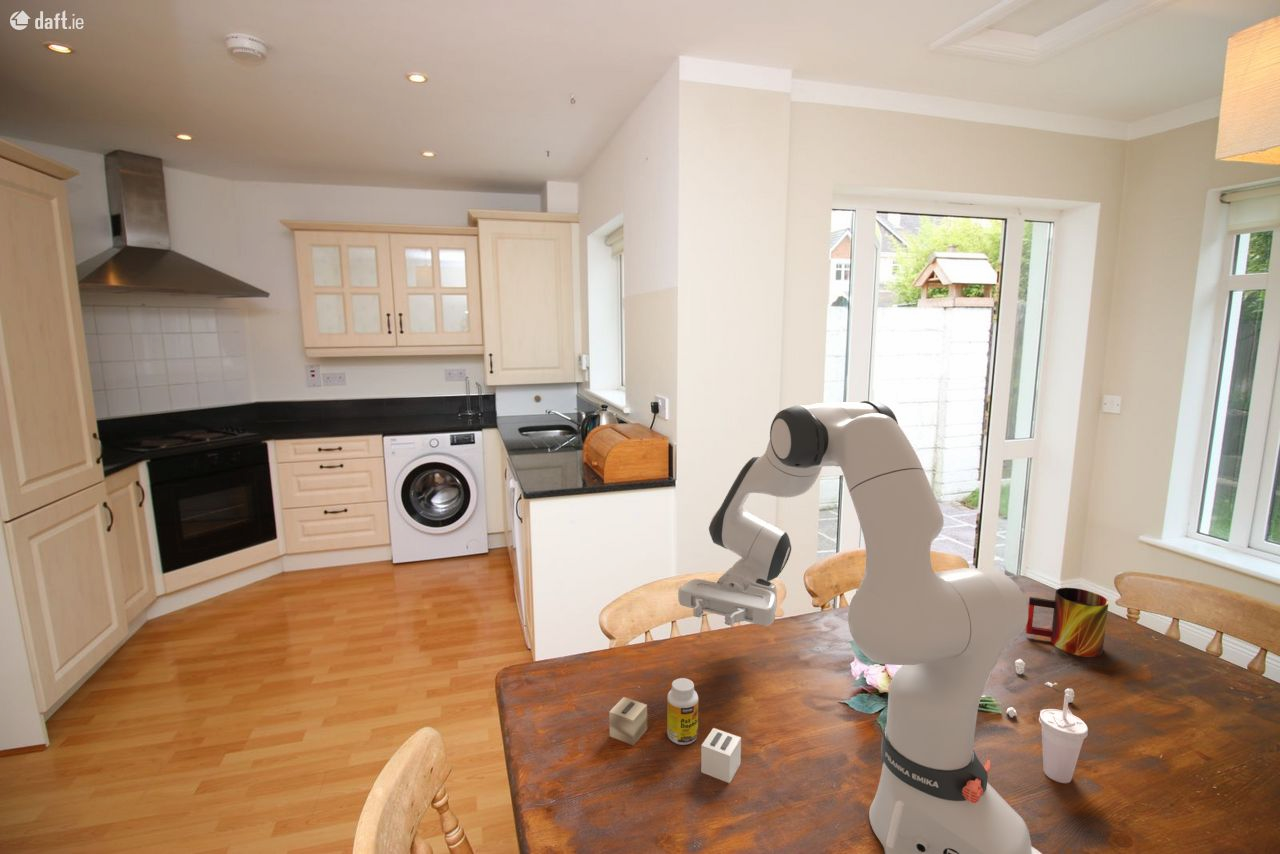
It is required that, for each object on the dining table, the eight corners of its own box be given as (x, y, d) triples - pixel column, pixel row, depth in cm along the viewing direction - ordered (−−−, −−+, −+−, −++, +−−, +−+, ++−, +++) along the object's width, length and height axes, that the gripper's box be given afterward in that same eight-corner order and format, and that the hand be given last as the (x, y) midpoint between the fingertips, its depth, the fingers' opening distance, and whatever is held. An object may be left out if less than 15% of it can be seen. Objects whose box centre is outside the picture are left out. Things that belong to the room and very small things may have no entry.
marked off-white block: (740, 764, 99) (741, 736, 98) (729, 783, 95) (729, 754, 94) (713, 754, 102) (713, 726, 101) (701, 772, 97) (701, 744, 96)
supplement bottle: (679, 751, 102) (679, 697, 101) (661, 733, 107) (660, 681, 105) (704, 738, 105) (704, 686, 104) (685, 722, 110) (685, 671, 108)
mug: (1023, 636, 139) (1028, 588, 137) (1080, 634, 140) (1085, 587, 138) (1053, 658, 130) (1058, 607, 128) (1113, 656, 130) (1120, 605, 128)
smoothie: (1085, 774, 96) (1094, 696, 94) (1077, 796, 91) (1087, 714, 89) (1039, 754, 100) (1047, 679, 98) (1029, 774, 96) (1037, 696, 94)
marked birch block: (647, 729, 108) (646, 703, 107) (633, 746, 104) (633, 719, 103) (624, 720, 110) (623, 695, 110) (609, 736, 106) (609, 710, 105)
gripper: (693, 567, 131) (664, 591, 119) (783, 586, 121) (762, 614, 109) (693, 594, 132) (664, 620, 120) (782, 614, 122) (761, 645, 110)
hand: (712, 617), depth 115 cm, fingers open, 5 cm apart
